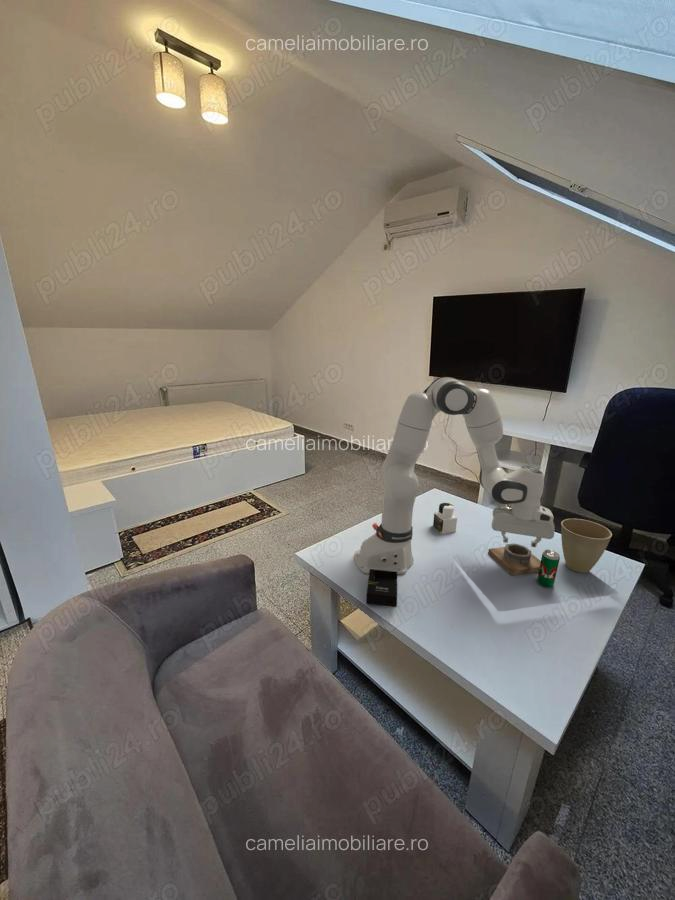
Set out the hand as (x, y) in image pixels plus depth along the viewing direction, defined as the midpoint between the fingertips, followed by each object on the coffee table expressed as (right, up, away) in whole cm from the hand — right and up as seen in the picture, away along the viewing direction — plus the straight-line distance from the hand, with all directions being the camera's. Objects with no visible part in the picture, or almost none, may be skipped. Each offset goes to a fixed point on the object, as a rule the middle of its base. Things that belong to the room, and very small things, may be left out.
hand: (519, 544), depth 132 cm
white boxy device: (-20, 0, +25) cm, 32 cm away
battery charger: (-52, -12, -14) cm, 56 cm away
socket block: (0, -7, +2) cm, 8 cm away
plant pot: (+21, -8, -1) cm, 23 cm away
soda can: (+4, -11, -10) cm, 15 cm away
